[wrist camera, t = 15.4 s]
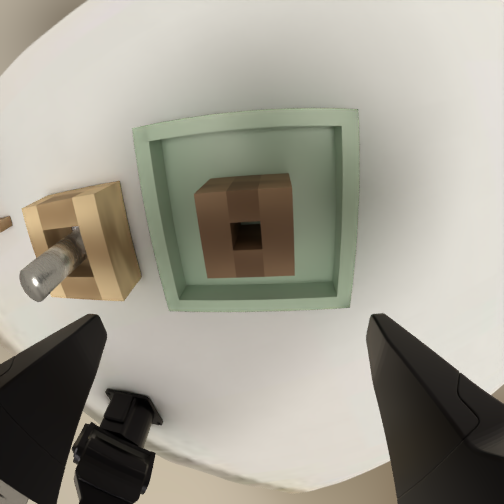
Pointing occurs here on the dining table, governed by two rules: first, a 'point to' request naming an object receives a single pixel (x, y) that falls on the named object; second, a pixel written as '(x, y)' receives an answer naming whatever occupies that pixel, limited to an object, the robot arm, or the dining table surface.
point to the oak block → (88, 240)
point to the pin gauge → (53, 266)
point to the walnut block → (247, 226)
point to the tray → (304, 215)
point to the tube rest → (5, 223)
